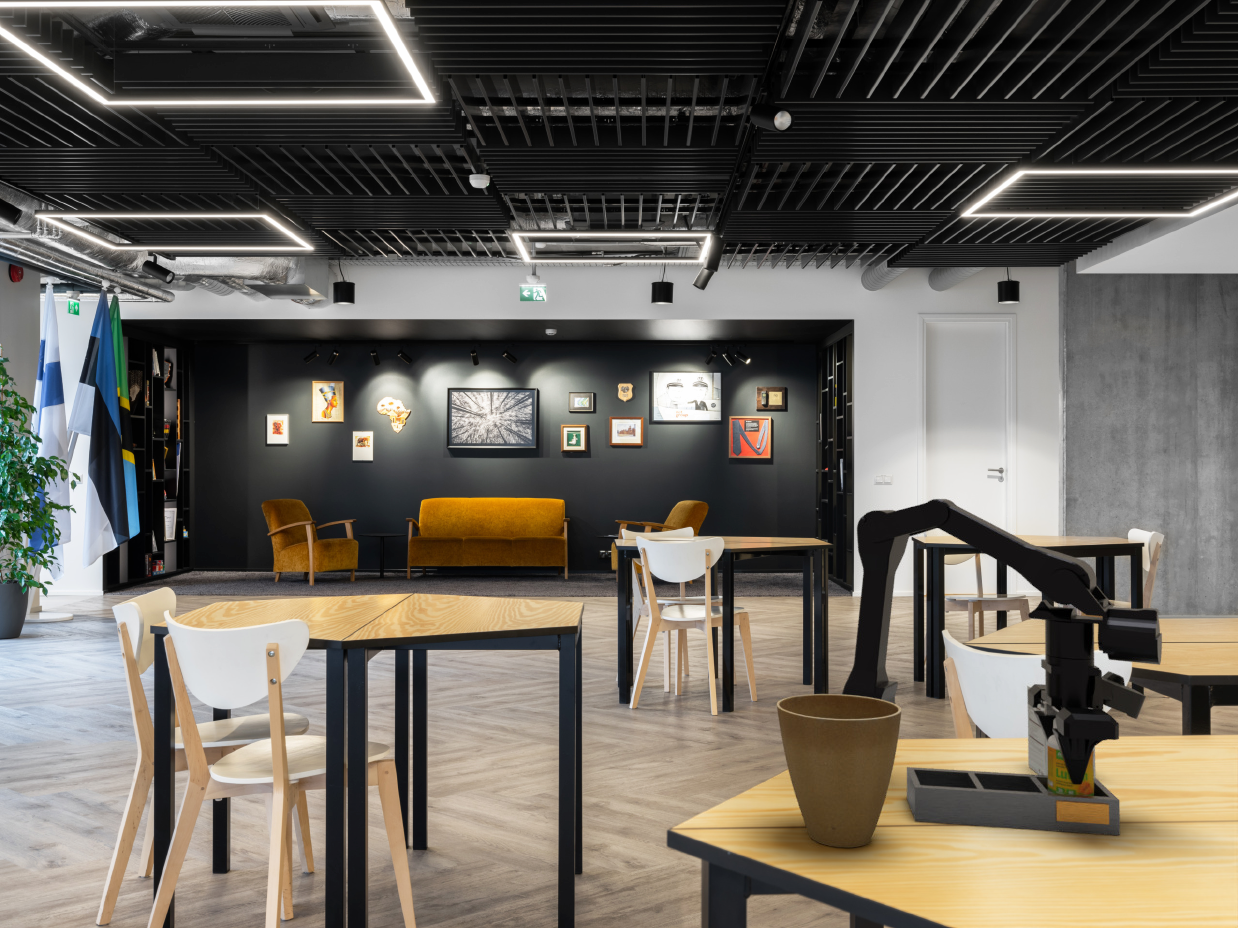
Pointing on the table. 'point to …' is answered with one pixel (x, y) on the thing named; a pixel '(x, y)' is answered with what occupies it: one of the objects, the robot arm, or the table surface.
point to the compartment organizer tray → (1008, 802)
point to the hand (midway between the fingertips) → (1070, 777)
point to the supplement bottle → (1059, 775)
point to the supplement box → (1038, 743)
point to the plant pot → (839, 762)
